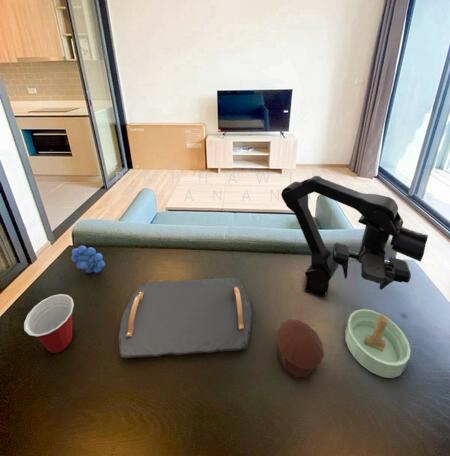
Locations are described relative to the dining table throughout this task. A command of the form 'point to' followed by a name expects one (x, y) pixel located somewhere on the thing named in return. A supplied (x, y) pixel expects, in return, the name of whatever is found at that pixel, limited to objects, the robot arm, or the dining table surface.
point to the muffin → (299, 348)
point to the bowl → (370, 357)
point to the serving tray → (185, 318)
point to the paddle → (377, 334)
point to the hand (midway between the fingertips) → (362, 282)
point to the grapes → (87, 259)
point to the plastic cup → (51, 322)
